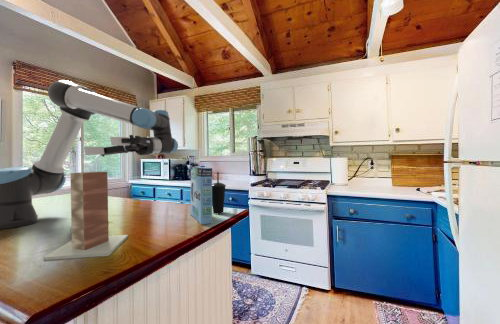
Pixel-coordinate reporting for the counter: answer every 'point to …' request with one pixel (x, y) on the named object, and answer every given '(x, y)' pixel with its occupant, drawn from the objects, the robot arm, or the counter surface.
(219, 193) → the drinking cup
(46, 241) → the counter surface
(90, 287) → the counter surface
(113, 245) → the mat
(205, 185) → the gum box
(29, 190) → the robot arm
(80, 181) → the wooden block tower
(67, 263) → the counter surface
